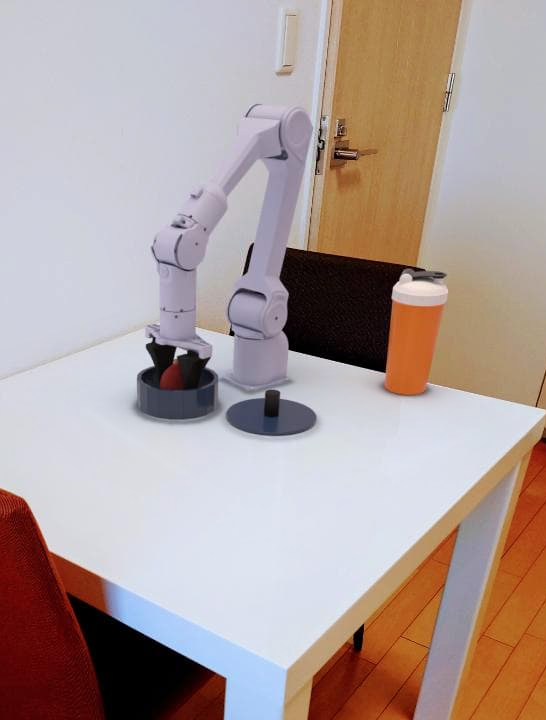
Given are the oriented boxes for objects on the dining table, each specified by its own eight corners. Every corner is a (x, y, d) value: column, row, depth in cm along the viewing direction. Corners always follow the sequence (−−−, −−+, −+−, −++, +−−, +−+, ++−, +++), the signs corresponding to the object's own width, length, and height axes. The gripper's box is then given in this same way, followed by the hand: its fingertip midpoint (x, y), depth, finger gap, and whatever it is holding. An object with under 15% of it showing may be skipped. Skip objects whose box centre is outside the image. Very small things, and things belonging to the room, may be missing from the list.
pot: (186, 386, 144) (186, 358, 141) (233, 410, 134) (234, 380, 132) (122, 403, 137) (121, 373, 135) (167, 429, 128) (167, 397, 125)
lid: (275, 397, 139) (277, 370, 137) (334, 425, 129) (337, 396, 126) (208, 416, 132) (209, 388, 130) (265, 447, 122) (267, 416, 120)
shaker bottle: (432, 399, 138) (454, 279, 128) (379, 395, 140) (396, 277, 129) (429, 380, 146) (448, 267, 135) (378, 377, 147) (394, 264, 137)
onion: (196, 399, 138) (196, 353, 134) (193, 412, 133) (194, 365, 129) (162, 398, 138) (161, 352, 134) (158, 411, 133) (158, 364, 129)
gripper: (129, 302, 130) (131, 382, 137) (188, 322, 120) (187, 408, 127) (163, 294, 133) (164, 373, 141) (223, 313, 124) (220, 397, 131)
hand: (177, 389), depth 134 cm, fingers closed on onion, 6 cm apart
